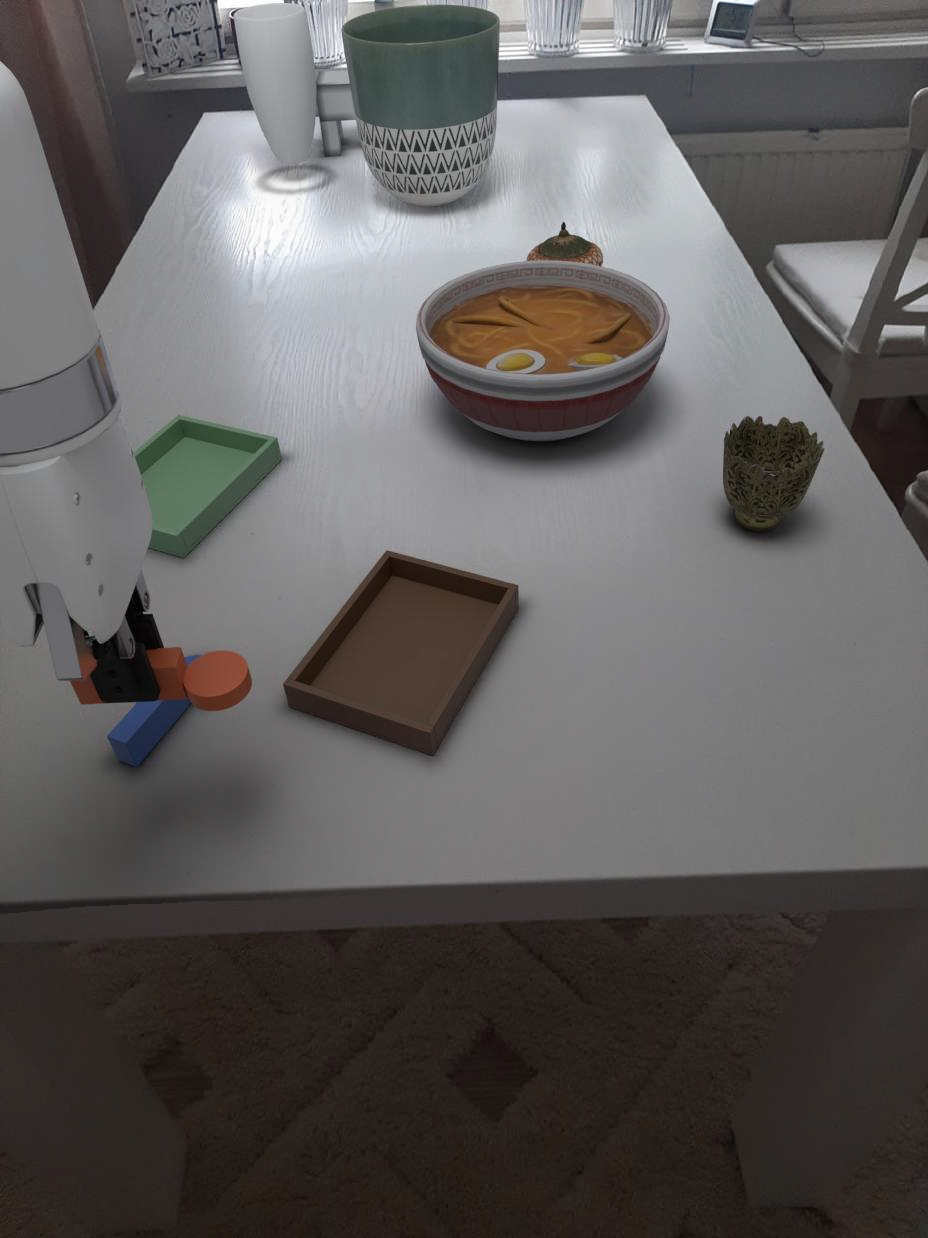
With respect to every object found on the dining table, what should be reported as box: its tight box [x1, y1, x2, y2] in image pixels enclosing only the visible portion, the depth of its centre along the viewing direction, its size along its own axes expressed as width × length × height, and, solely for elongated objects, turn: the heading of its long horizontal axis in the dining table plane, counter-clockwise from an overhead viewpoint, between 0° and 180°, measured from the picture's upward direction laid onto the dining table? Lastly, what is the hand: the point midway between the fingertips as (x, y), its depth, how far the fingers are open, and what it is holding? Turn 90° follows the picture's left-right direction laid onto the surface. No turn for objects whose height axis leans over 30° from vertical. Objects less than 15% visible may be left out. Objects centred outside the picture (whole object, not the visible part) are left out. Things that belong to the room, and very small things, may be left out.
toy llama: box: [316, 0, 396, 157], centre depth 142 cm, size 8×18×20 cm, turn 92°
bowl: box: [415, 260, 671, 442], centre depth 88 cm, size 23×23×10 cm
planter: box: [341, 4, 501, 207], centre depth 124 cm, size 20×20×21 cm
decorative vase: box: [722, 415, 825, 533], centre depth 75 cm, size 8×7×8 cm
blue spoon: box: [106, 654, 203, 768], centre depth 64 cm, size 10×4×3 cm, turn 156°
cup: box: [233, 2, 317, 165], centre depth 132 cm, size 10×10×22 cm
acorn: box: [525, 221, 604, 267], centre depth 102 cm, size 8×8×10 cm
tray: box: [282, 550, 520, 756], centre depth 68 cm, size 15×11×2 cm
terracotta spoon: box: [69, 646, 253, 712], centre depth 52 cm, size 10×4×3 cm, turn 92°
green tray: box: [133, 414, 283, 559], centre depth 83 cm, size 15×11×2 cm
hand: (136, 682), depth 52 cm, fingers closed on terracotta spoon, 1 cm apart
